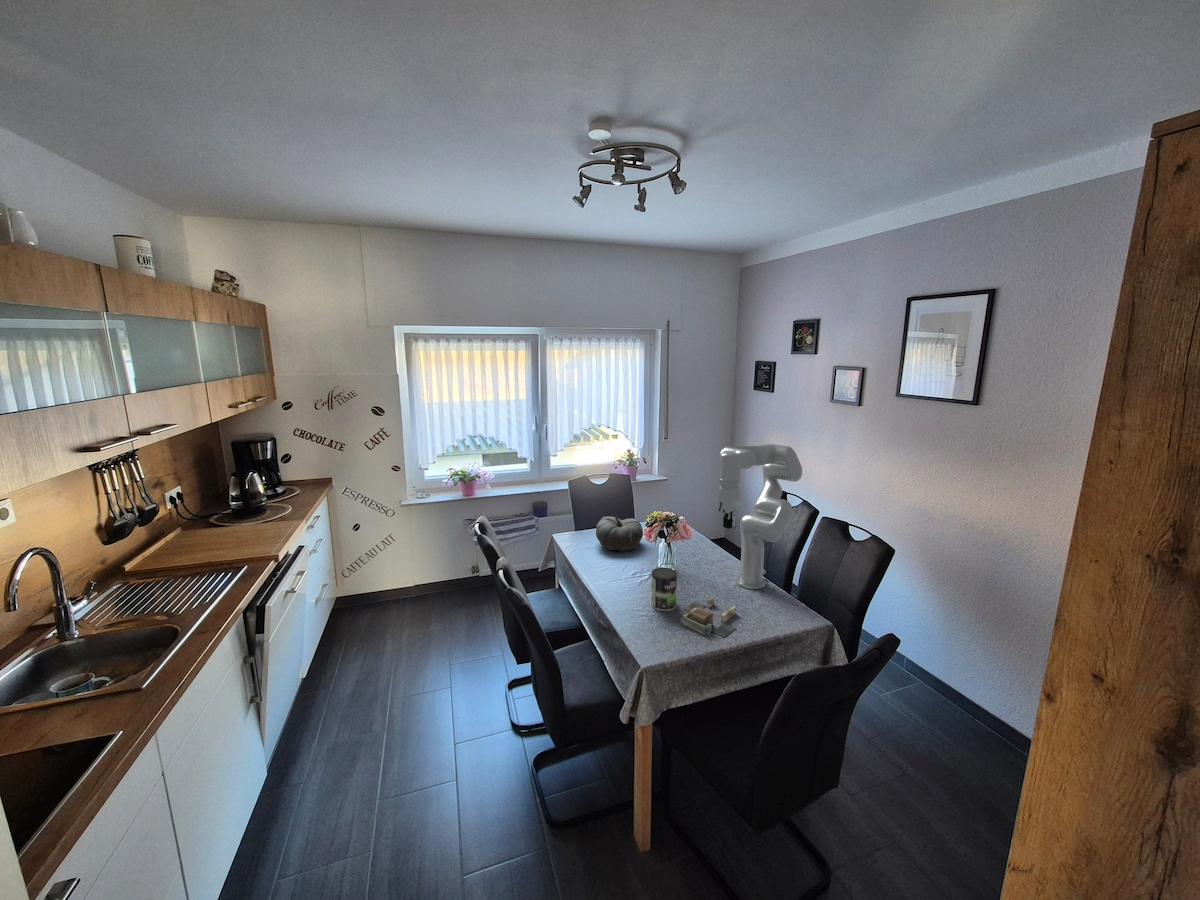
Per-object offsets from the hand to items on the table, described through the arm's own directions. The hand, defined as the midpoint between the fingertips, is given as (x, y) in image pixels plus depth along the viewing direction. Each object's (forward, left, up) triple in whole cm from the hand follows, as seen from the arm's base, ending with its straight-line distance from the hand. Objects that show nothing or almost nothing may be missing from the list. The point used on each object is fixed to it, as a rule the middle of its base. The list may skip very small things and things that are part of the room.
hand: (727, 527), depth 191 cm
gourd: (-12, -71, -32) cm, 79 cm away
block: (+22, +3, -32) cm, 39 cm away
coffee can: (+20, -16, -32) cm, 41 cm away
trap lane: (+16, +3, -32) cm, 36 cm away
